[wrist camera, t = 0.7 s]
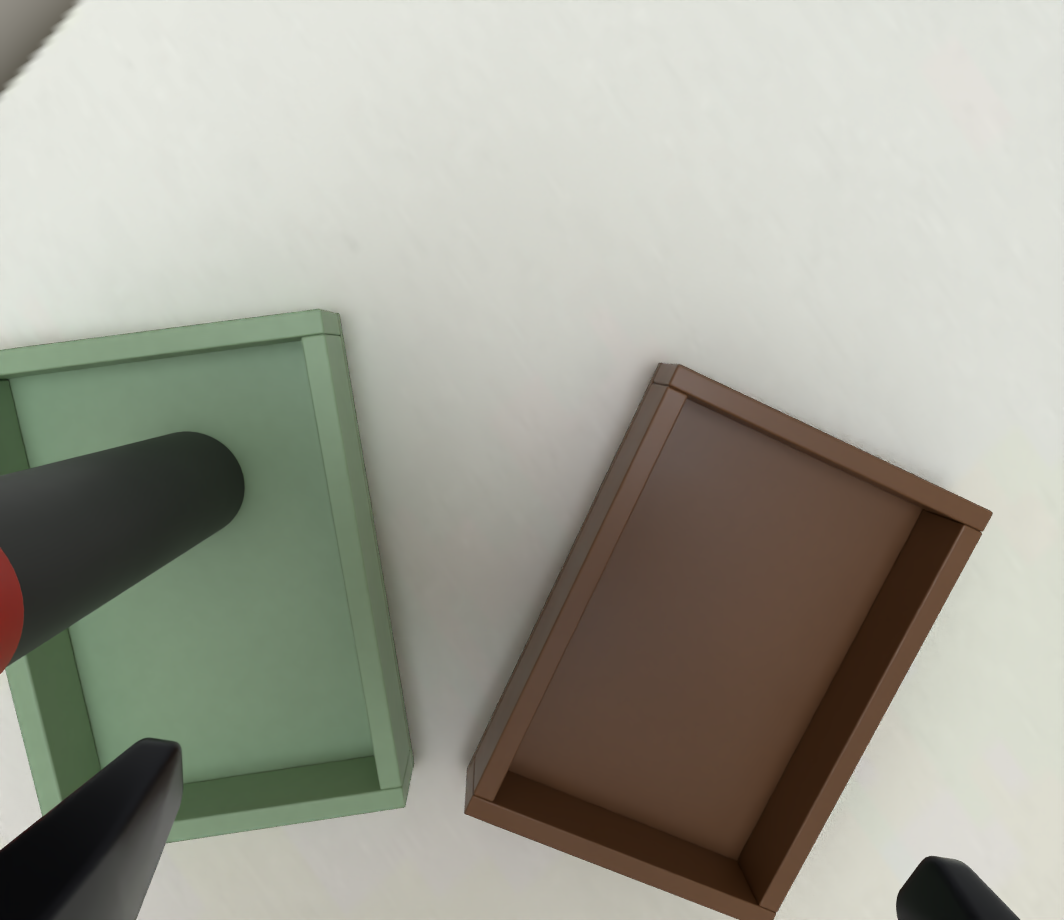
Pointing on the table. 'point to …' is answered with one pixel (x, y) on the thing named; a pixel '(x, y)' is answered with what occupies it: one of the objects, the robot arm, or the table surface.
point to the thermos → (104, 528)
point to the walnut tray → (718, 647)
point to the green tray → (222, 581)
